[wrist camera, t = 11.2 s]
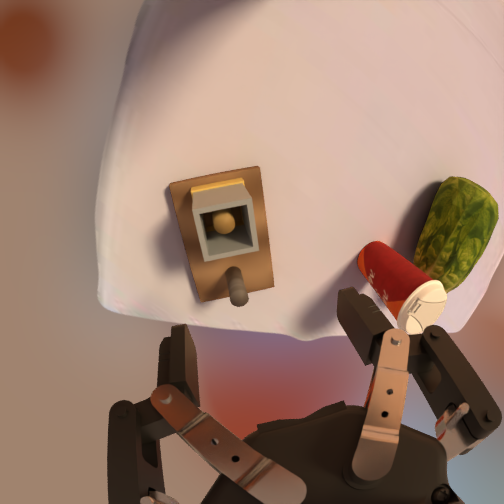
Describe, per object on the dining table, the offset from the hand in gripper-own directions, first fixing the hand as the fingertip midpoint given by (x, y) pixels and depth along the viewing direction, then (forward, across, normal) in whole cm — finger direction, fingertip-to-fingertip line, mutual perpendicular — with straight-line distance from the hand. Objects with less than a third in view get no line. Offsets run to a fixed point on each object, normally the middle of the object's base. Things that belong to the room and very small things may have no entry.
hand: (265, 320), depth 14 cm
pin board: (+21, +1, +5) cm, 21 cm away
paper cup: (+21, -20, +13) cm, 32 cm away
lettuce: (+21, -32, +10) cm, 40 cm away
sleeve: (+20, +1, 0) cm, 20 cm away
